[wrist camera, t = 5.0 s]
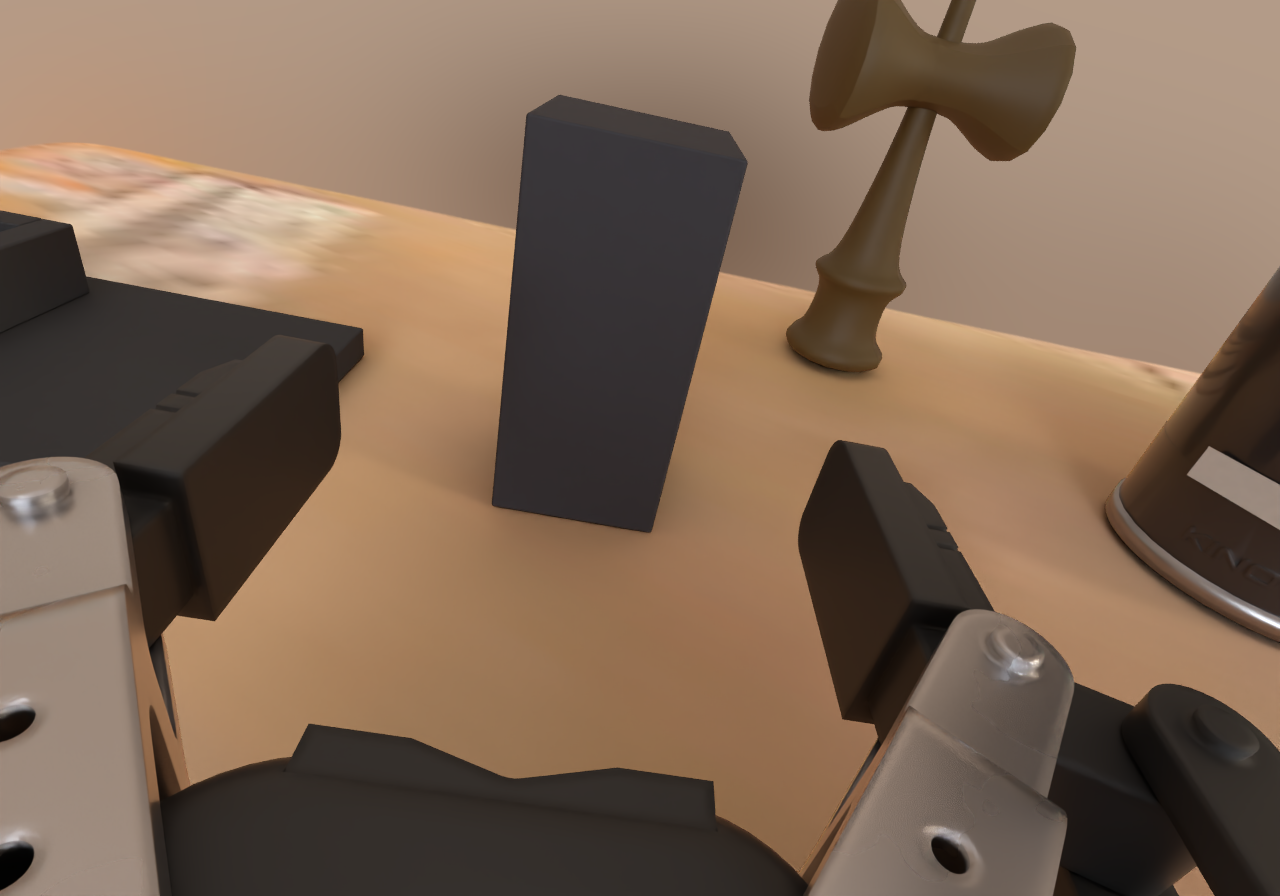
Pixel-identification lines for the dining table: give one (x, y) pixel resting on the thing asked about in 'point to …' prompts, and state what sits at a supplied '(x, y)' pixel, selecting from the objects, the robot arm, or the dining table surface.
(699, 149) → the post
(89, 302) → the base pad
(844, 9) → the kendama
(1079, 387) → the dining table surface
